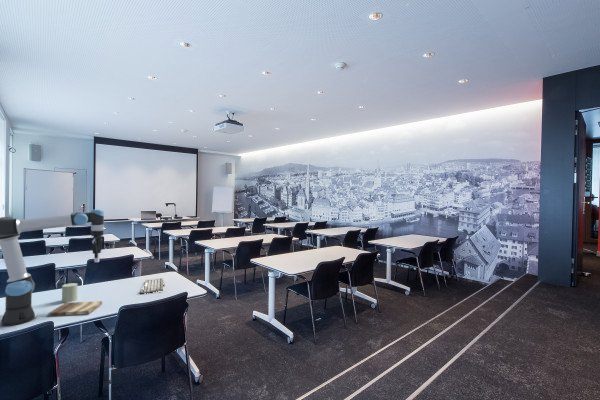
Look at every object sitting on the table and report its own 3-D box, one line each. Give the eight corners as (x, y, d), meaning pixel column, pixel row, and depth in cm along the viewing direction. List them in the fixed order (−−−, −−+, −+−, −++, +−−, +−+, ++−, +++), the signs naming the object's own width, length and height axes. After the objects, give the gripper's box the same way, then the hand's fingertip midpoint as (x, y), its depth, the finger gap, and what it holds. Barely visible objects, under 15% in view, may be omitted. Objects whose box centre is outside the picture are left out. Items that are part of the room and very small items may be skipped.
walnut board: (48, 316, 188) (49, 312, 188) (65, 305, 206) (65, 302, 206) (64, 315, 190) (64, 311, 190) (79, 305, 208) (79, 301, 208)
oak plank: (65, 315, 190) (65, 312, 190) (80, 304, 208) (80, 302, 208) (89, 313, 193) (89, 310, 193) (102, 303, 210) (102, 301, 210)
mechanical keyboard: (141, 282, 266) (141, 279, 266) (164, 280, 274) (164, 277, 274) (139, 295, 232) (139, 291, 232) (165, 293, 240) (165, 289, 240)
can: (59, 302, 211) (59, 286, 211) (65, 298, 220) (65, 282, 220) (73, 301, 214) (74, 285, 214) (79, 297, 223) (79, 282, 223)
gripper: (98, 231, 210) (98, 263, 210) (107, 229, 223) (106, 260, 223) (87, 231, 208) (86, 264, 209) (96, 229, 221) (95, 260, 221)
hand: (96, 261), depth 216 cm, fingers closed
